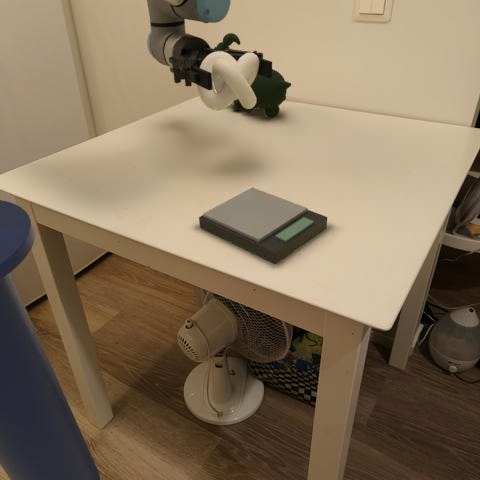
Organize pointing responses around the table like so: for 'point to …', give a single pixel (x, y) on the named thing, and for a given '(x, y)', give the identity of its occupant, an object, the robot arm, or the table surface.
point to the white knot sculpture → (229, 80)
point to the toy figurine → (261, 86)
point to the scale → (263, 224)
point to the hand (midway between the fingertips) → (241, 75)
